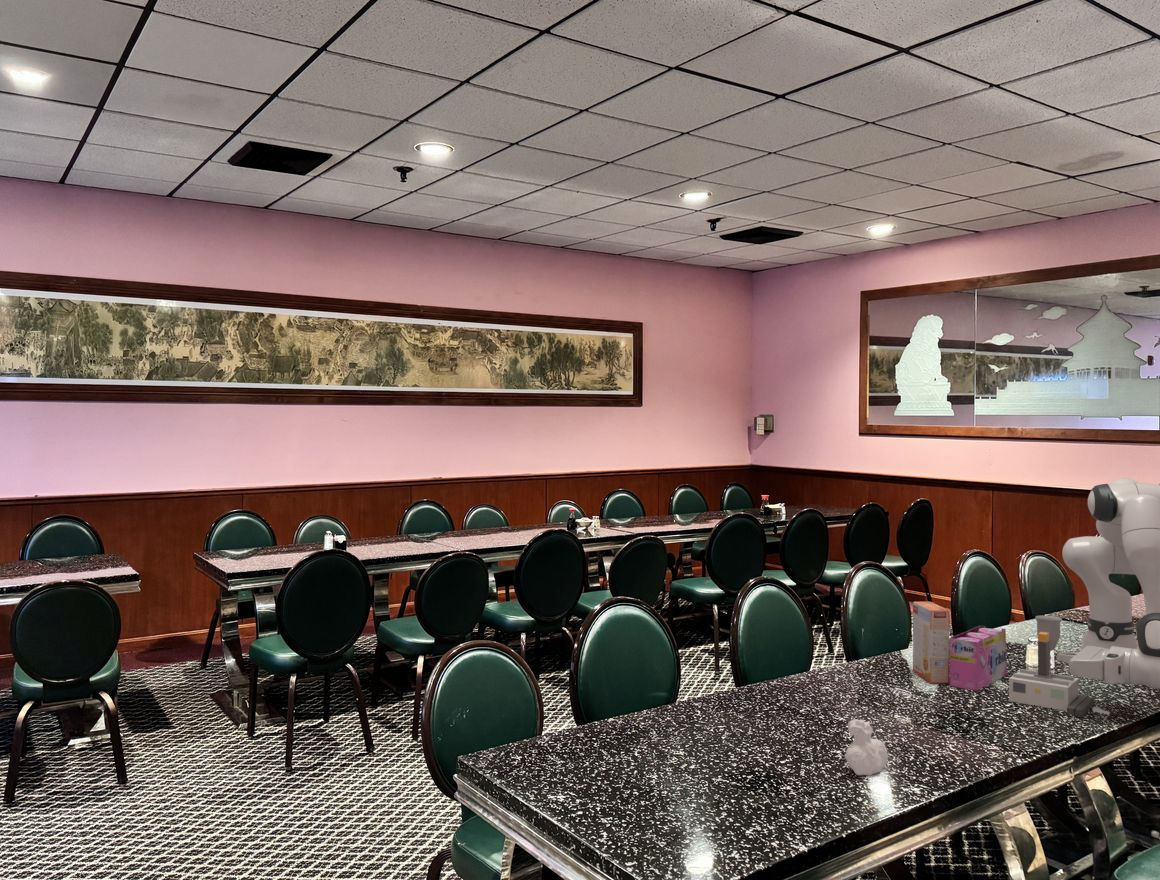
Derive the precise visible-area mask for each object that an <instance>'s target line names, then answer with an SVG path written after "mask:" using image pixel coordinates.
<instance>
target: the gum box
mask: <svg viewBox="0 0 1160 880" xmlns="http://www.w3.org/2000/svg"><path fill="white" fill-rule="evenodd" d="M1006 638H1007V632H1006V629H1005V628H1001V630H999V629H995V628H987V627H986V626H985V625H978V626H975V627H973V628H971V629H968V630H967V631H964V632H961V633H959V634H956V635H953V636H952V637H949V686H950V687H954V688H959V689H963V690H964V689H965V690H969V689H970V690H971V691H975V692H976V691H979V690H981V689H983V687H984V688H985V687H987V686H989V685H992V684H993V683H995V682H997V681H998V680H1000V679H1003V678H1004V677H1006V676H1007V675H1008V669H1007V668H1008V666H1007V665H1008V663H1007V658H1008V657H1007V639H1006ZM1002 677H1003V678H1002ZM970 690H969V691H970Z"/></svg>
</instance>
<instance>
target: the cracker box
mask: <svg viewBox="0 0 1160 880" xmlns="http://www.w3.org/2000/svg"><path fill="white" fill-rule="evenodd" d="M950 611H951V610H950V609H947V608H946V607H944V606H941V605H939V604H936V603H934V602H933V601H913V602H912V672H913V673H915V674H917V675H918V676H919V677H921V678H922V679H924V680H925V681H926V682H927V683H929V684H950V631H951V630H950V628H951V627H950V625H951V624H950V622H951V620H950V619H951V618H950V616H951V615H950V614H951V613H950Z"/></svg>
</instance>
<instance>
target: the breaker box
mask: <svg viewBox="0 0 1160 880" xmlns="http://www.w3.org/2000/svg"><path fill="white" fill-rule="evenodd" d="M1037 672H1038V670H1032V669H1024V668H1020V669H1019V670H1018V671H1017V672H1016V673H1012V676H1010V677H1009V678H1008V702H1010V703H1011V702H1012V703H1018V704H1024V705H1028V704H1029V705H1030V706H1034V705H1035V706H1034V707H1040V706H1041V707H1040V708H1046V709H1051V708H1052V710H1056V711H1057V710H1058V711H1064V712H1067V707H1068V706H1069V705H1070V704H1071V703H1072V702H1074V701H1075V700H1076V699H1077V698H1078V697H1079V678H1077V677H1076V678H1075V676H1071V675H1070V676H1069V675H1064V674H1056V673H1054V674H1053V678H1052V679H1048V678H1041V677H1035V676H1034V674H1036V673H1037Z"/></svg>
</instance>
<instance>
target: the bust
mask: <svg viewBox="0 0 1160 880" xmlns="http://www.w3.org/2000/svg"><path fill="white" fill-rule="evenodd" d="M871 726H872V725H871V721H870V720H869V721H864V720H863V719H856V718H852V719H851V720H850V721H848V723H847V730H848V732H849V735H850V737H854V739H853V740H852V741H853V742H851V744H849V746H848V747H847V749H846V750H845V754H844V759H845V760H846V763H847V766H848V767H849V768H850V769H852V770H853V772H854V773H855V775H856V776H868V777H871V776H872V775H874V774H878V773H881V772H882V771H883V769H884V767H885V766H887V763H888V759H889V758H888V757H889V754H888V751H887V747H886V745H885V743H884V742H883V741H882V740H880V739H876V738H871V736H872V733H874V729H873V727H871Z"/></svg>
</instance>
